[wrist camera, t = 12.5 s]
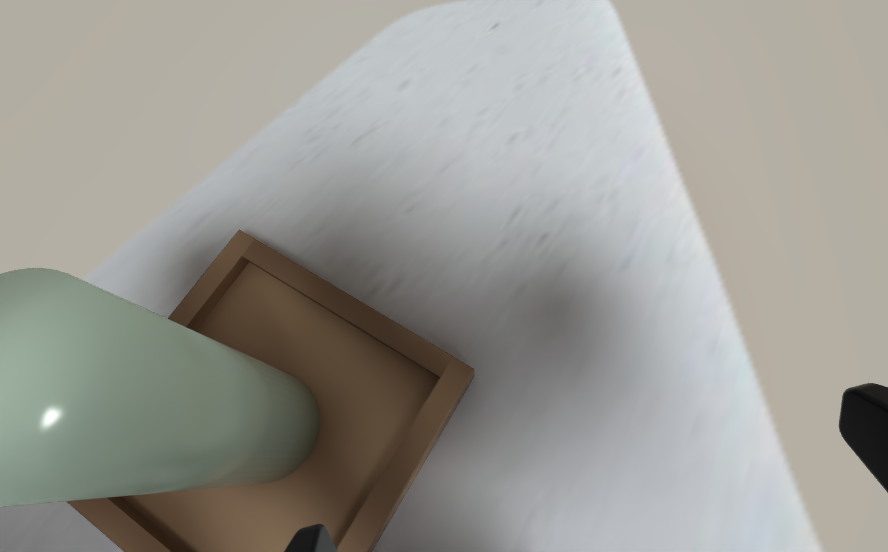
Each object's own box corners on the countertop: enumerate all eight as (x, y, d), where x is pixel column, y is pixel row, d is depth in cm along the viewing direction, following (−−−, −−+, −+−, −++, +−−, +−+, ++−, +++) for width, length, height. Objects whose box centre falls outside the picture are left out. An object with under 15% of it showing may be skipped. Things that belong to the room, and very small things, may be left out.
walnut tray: (303, 667, 19) (284, 689, 17) (77, 476, 22) (39, 478, 20) (474, 376, 23) (473, 368, 21) (256, 246, 26) (239, 229, 24)
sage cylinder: (316, 481, 20) (85, 505, 9) (207, 485, 21) (-159, 514, 9) (321, 368, 22) (133, 260, 10) (221, 374, 22) (-74, 275, 11)
